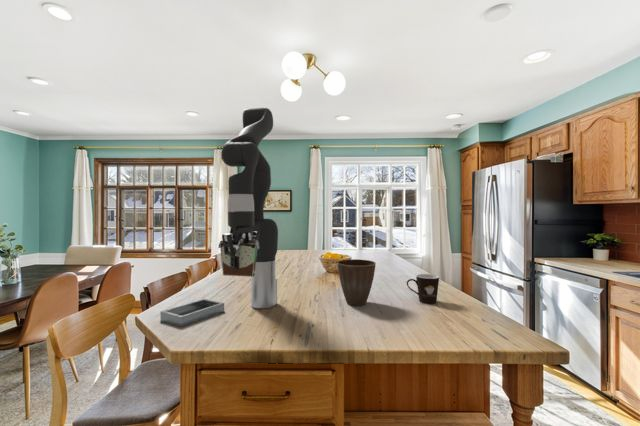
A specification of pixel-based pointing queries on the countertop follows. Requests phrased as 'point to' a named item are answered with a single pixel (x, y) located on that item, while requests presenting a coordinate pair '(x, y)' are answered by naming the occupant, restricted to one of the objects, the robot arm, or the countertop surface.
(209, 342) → the countertop surface
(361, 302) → the plant pot
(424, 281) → the coffee mug
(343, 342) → the countertop surface
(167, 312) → the collar
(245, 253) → the food container
